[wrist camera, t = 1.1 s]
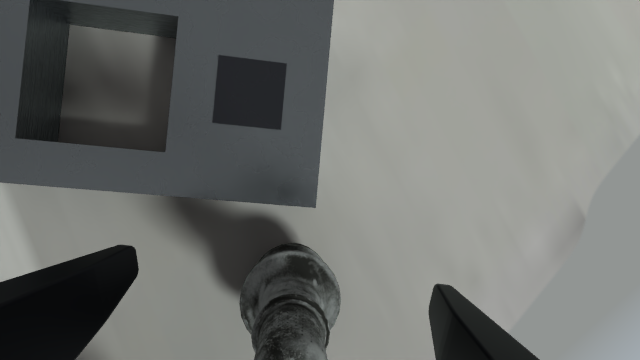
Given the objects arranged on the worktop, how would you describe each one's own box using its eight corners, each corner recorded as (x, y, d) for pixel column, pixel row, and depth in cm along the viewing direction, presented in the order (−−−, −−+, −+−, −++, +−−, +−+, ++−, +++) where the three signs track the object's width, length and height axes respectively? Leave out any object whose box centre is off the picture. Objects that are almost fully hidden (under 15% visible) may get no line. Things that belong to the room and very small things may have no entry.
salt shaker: (261, 334, 21) (221, 538, 9) (238, 253, 21) (166, 349, 9) (342, 308, 21) (406, 467, 9) (320, 229, 21) (357, 288, 9)
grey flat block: (312, 204, 21) (315, 207, 18) (2, 179, 19) (-52, 178, 16) (328, 22, 21) (334, -5, 18) (24, -20, 20) (-26, -58, 16)
